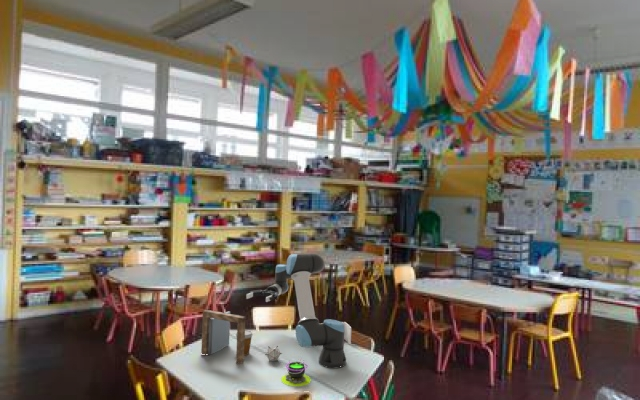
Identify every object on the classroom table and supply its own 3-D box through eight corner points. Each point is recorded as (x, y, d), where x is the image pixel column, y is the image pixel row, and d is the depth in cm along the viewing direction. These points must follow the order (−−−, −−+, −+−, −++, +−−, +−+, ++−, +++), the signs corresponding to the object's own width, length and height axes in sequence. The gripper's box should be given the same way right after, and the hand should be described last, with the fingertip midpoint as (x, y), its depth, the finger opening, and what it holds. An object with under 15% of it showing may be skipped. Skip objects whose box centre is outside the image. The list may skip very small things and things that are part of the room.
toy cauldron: (275, 378, 231) (275, 357, 231) (298, 371, 241) (298, 350, 241) (293, 389, 220) (294, 366, 219) (317, 381, 230) (318, 359, 230)
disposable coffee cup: (250, 349, 268) (251, 329, 268) (252, 355, 259) (253, 334, 259) (234, 350, 266) (235, 330, 265) (235, 356, 257) (236, 335, 256)
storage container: (344, 339, 295) (345, 322, 295) (350, 345, 284) (351, 327, 284) (307, 341, 288) (307, 323, 287) (311, 347, 277) (312, 329, 277)
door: (209, 355, 256) (211, 319, 255) (204, 354, 257) (205, 318, 256) (229, 344, 273) (230, 311, 272) (224, 343, 274) (225, 310, 273)
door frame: (243, 362, 250) (245, 316, 249) (240, 363, 247) (242, 318, 246) (204, 353, 260) (206, 309, 259) (201, 354, 257) (202, 310, 256)
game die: (274, 368, 252) (278, 358, 245) (261, 361, 253) (264, 351, 247) (282, 356, 259) (285, 346, 252) (268, 349, 260) (271, 339, 254)
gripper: (290, 299, 292) (274, 307, 272) (256, 294, 302) (238, 301, 282) (290, 288, 292) (274, 294, 272) (257, 283, 301) (239, 289, 282)
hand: (256, 298), depth 277 cm, fingers open, 13 cm apart
